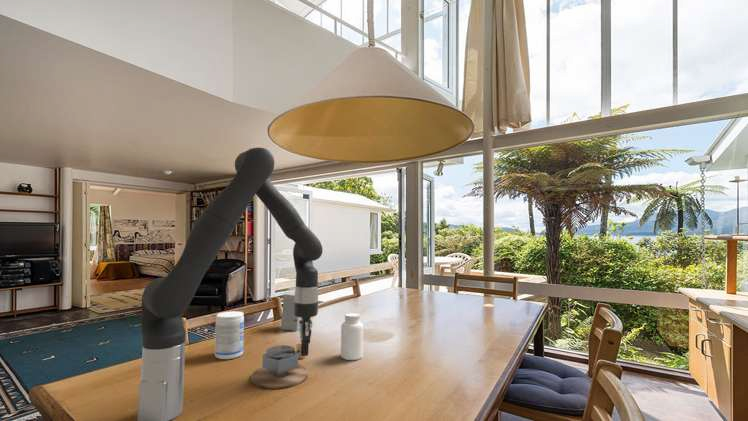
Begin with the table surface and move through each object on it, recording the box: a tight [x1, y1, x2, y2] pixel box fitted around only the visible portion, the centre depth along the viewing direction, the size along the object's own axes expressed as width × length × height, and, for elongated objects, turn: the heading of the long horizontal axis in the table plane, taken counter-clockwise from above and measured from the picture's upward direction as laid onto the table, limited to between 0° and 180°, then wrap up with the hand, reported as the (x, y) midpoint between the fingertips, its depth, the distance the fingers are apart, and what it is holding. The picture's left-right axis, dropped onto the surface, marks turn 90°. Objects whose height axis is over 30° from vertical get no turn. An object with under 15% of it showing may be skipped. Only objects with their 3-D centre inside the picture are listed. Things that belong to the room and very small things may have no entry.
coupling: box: [262, 343, 306, 374], centre depth 115 cm, size 14×9×5 cm, turn 142°
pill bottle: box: [340, 313, 364, 361], centre depth 131 cm, size 8×8×15 cm
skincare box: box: [280, 292, 301, 332], centre depth 165 cm, size 8×7×16 cm
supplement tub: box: [214, 310, 245, 360], centre depth 130 cm, size 10×10×15 cm
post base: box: [250, 364, 309, 390], centre depth 113 cm, size 18×17×6 cm
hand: (304, 355), depth 116 cm, fingers closed
